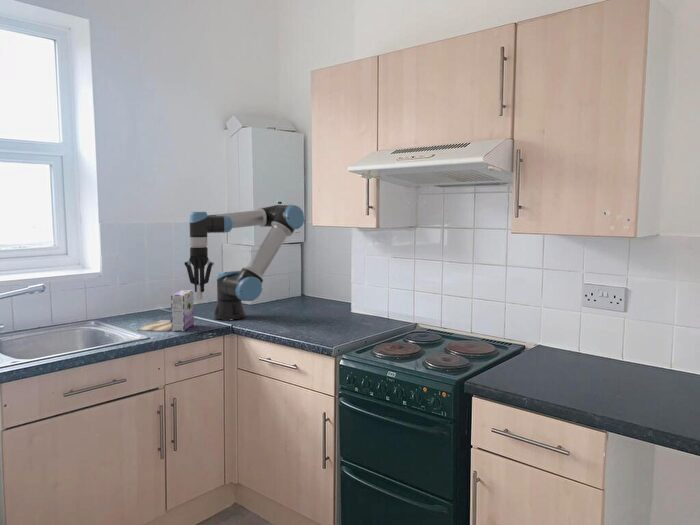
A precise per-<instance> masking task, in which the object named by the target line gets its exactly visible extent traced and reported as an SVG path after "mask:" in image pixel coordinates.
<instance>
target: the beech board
mask: <svg viewBox="0 0 700 525" xmlns="http://www.w3.org/2000/svg"><path fill="white" fill-rule="evenodd" d="M171 329H172V322H158V321H153V322H150V323H148V324H146V325H143V326H142V327H139V328H137V329H136V330H137V331H138V332H159V331H167V332H166V333H168V332H170V331H172V330H171Z"/></svg>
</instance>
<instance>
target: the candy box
mask: <svg viewBox="0 0 700 525" xmlns="http://www.w3.org/2000/svg"><path fill="white" fill-rule="evenodd" d="M170 297H171V298H170V300H171V301H170V304H171V305H170V306H171V308H170V309H171V313H170V314H171V320H172V322H171V323H172V330H171V332H179V331H184V332H186V331H187V330H188V329H190V328H191V327H193V326H194V325H195V324H194V323H195V322H194V321H195V319H194V318H195V316H194V314H195V313H194V290H192V289H182V290H179V291H177V292H175V293H173V294H171V295H170ZM192 325H193V326H192ZM189 327H190V328H189ZM186 329H187V330H186ZM185 330H186V331H185Z"/></svg>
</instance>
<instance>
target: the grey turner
mask: <svg viewBox="0 0 700 525" xmlns="http://www.w3.org/2000/svg"><path fill="white" fill-rule="evenodd" d="M157 322H171V323H172V319H160V320H158V321H157Z"/></svg>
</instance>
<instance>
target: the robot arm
mask: <svg viewBox="0 0 700 525" xmlns="http://www.w3.org/2000/svg"><path fill="white" fill-rule="evenodd" d="M304 214H305V213H304V211H303V209H302V208H301V207H300V206H298V205H294V204H275V205H270V206H265V207H259V208H257V210H256V209H255V210H249V211H248V210H247V211H246V210H245V211H236V212H226V213H217V214H215V213H214V214H208V213H207V211H190V213H189V221H188V223H189V246H190V249H189V259H188V260H187V261H185V262H184V263H183V264H184V266H185V268H186V271H187V275H188V278H189V282H190V284H192V285H194V292H195V293H196V301H197V300H199V301H200V300H202V299H203V293H204V292H205V285H206V284H209V281H210V276H211V272H212V267H213V266H214V264H215V263H214V262H213V261H210V259H209V257H208V256H209V255H208V253H209V252H208V247H207V246H208V234H218V233H223V234H225V233H229V232H231V231H232V229H239V228H246V227H257V226H259V227H260V228H265V227H268V228H269V227H270V230H269V232H268V233H267V235H266V236H265V237H264V239H263V241H262V242H261V244H260V246H259V247H258V249H257V250H256V252H255V254H254V255H253V257H252V258H251V260H250V261H249V263H248V264H247V266H246V267H242V268H241V270H233V271H221V272H220V271H219V272H218V273H217V275H216V287H217V288H216V289H217V290H216V291H217V292H216V293H217V295H216V296H217V297H216V300H217V301H216V302H217V303H216V307H215V309H214V312H213V318H215V319H214V320H217V319H222V320H221V321H231V320H230V319H239V320H241V319H240V318H243V317H245V318H246V310H245V309H244V306H243V302H252V301H254V300H256V299H258V298H259V296H260V295H261V294H262V290H263V281H264V279H263V276H264V275H265V273H266V271H267V269H268V268H269V266H270V264H271V263H272V261H273V260H274V258H275V256H277V253H278V251H279V250H280V248H281V247H282V245H283V243H284V242H285V241H286V239H287V237H291V236H292V235H293V233H294V232H295V230H299V229H301V227H303V225H304V222H305V215H304ZM192 266H193V268H192ZM205 267H206V271H205ZM243 319H244V318H243Z"/></svg>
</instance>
